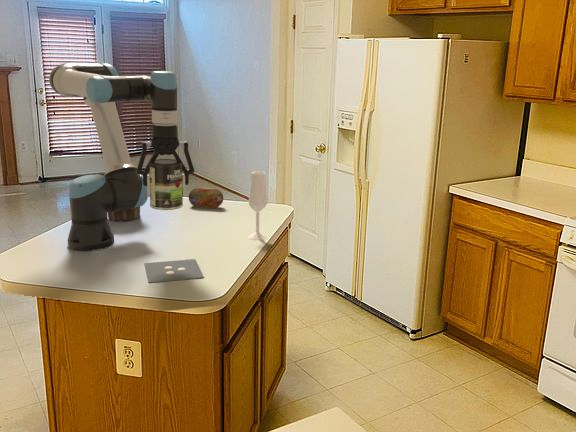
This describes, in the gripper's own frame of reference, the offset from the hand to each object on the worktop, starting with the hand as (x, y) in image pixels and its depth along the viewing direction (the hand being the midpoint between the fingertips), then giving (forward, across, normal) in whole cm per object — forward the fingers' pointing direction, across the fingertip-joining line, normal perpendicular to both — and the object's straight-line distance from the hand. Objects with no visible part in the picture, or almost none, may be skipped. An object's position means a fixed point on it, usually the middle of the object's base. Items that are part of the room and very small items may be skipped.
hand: (166, 195), depth 179 cm
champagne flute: (+21, +34, +16) cm, 43 cm away
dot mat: (+21, +1, -11) cm, 24 cm away
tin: (+23, +22, +62) cm, 70 cm away
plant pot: (+23, -12, +51) cm, 57 cm away
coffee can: (+4, 0, 0) cm, 4 cm away
